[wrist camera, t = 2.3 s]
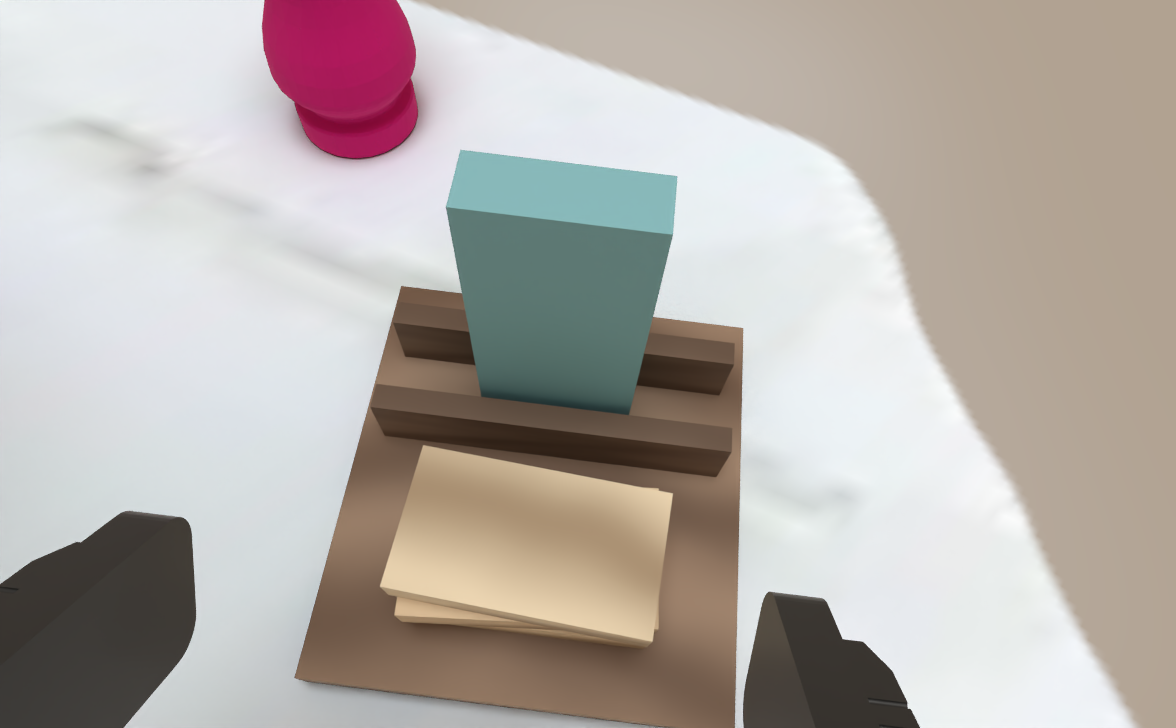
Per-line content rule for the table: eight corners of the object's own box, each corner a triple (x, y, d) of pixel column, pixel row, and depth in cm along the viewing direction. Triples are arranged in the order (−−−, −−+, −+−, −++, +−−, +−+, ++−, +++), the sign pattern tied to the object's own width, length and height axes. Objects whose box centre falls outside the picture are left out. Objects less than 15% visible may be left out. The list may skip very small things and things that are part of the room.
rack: (725, 735, 28) (754, 732, 24) (306, 681, 29) (267, 669, 25) (736, 343, 36) (759, 293, 32) (406, 303, 36) (389, 247, 32)
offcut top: (647, 647, 25) (652, 641, 24) (388, 595, 26) (379, 586, 24) (667, 505, 28) (672, 493, 26) (429, 459, 28) (423, 445, 27)
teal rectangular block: (624, 434, 32) (673, 234, 20) (485, 417, 32) (446, 206, 20) (628, 392, 33) (677, 175, 21) (493, 375, 33) (460, 150, 21)
